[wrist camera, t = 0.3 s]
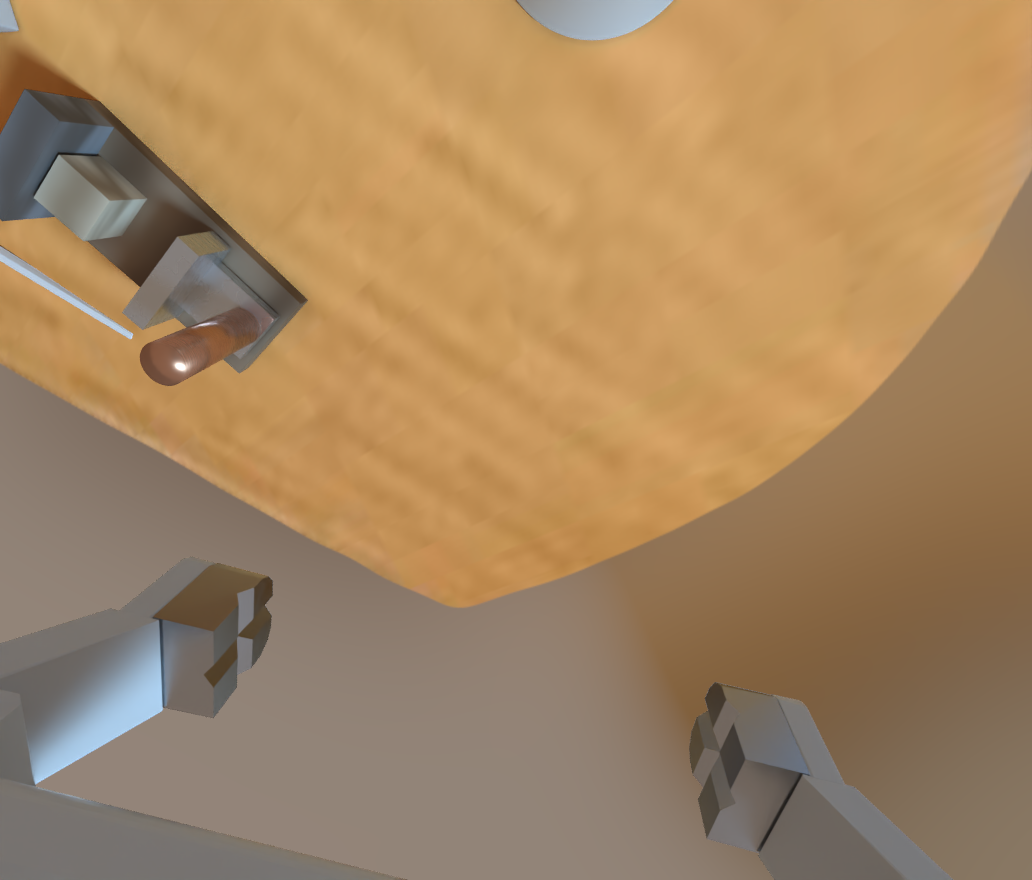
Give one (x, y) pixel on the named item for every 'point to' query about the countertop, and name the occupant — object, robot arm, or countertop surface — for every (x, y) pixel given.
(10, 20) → the milk carton
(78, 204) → the block
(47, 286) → the fork
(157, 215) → the base
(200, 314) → the press handle
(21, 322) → the countertop surface
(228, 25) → the countertop surface
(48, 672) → the robot arm
